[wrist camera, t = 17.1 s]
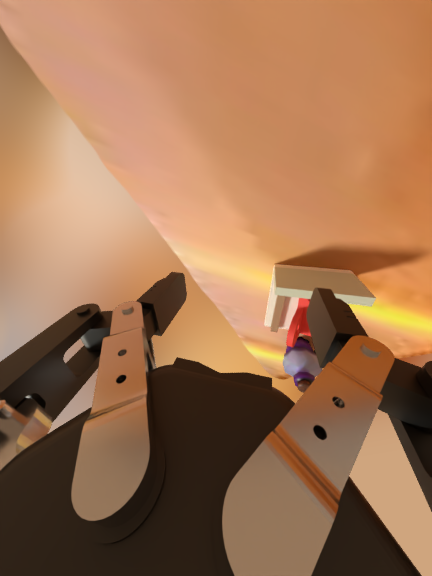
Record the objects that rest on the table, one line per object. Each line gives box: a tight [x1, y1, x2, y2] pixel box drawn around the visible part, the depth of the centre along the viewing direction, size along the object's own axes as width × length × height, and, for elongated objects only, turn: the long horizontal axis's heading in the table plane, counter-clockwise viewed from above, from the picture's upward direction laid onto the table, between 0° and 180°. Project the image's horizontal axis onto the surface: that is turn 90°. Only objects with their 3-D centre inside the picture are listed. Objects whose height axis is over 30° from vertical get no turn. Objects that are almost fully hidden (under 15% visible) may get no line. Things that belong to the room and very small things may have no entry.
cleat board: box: [264, 264, 376, 332], centre depth 35 cm, size 14×16×10 cm
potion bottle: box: [283, 337, 322, 393], centre depth 41 cm, size 9×9×12 cm
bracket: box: [286, 298, 311, 347], centre depth 35 cm, size 12×4×8 cm, turn 7°
